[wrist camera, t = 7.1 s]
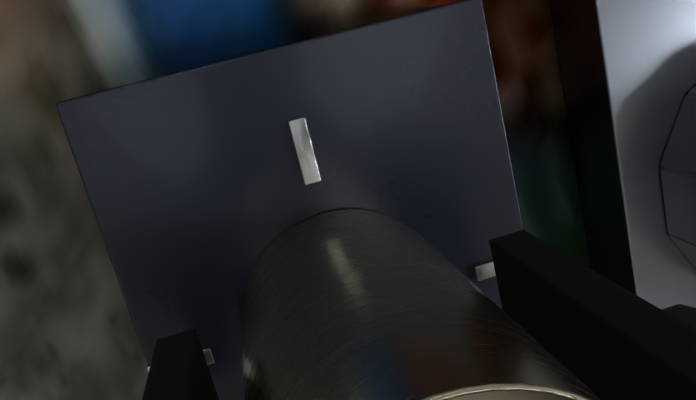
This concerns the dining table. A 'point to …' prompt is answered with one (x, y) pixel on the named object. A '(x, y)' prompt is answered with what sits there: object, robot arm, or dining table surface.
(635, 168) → the block
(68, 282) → the dining table surface
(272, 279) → the dial
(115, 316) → the dining table surface
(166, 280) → the panel
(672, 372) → the robot arm
